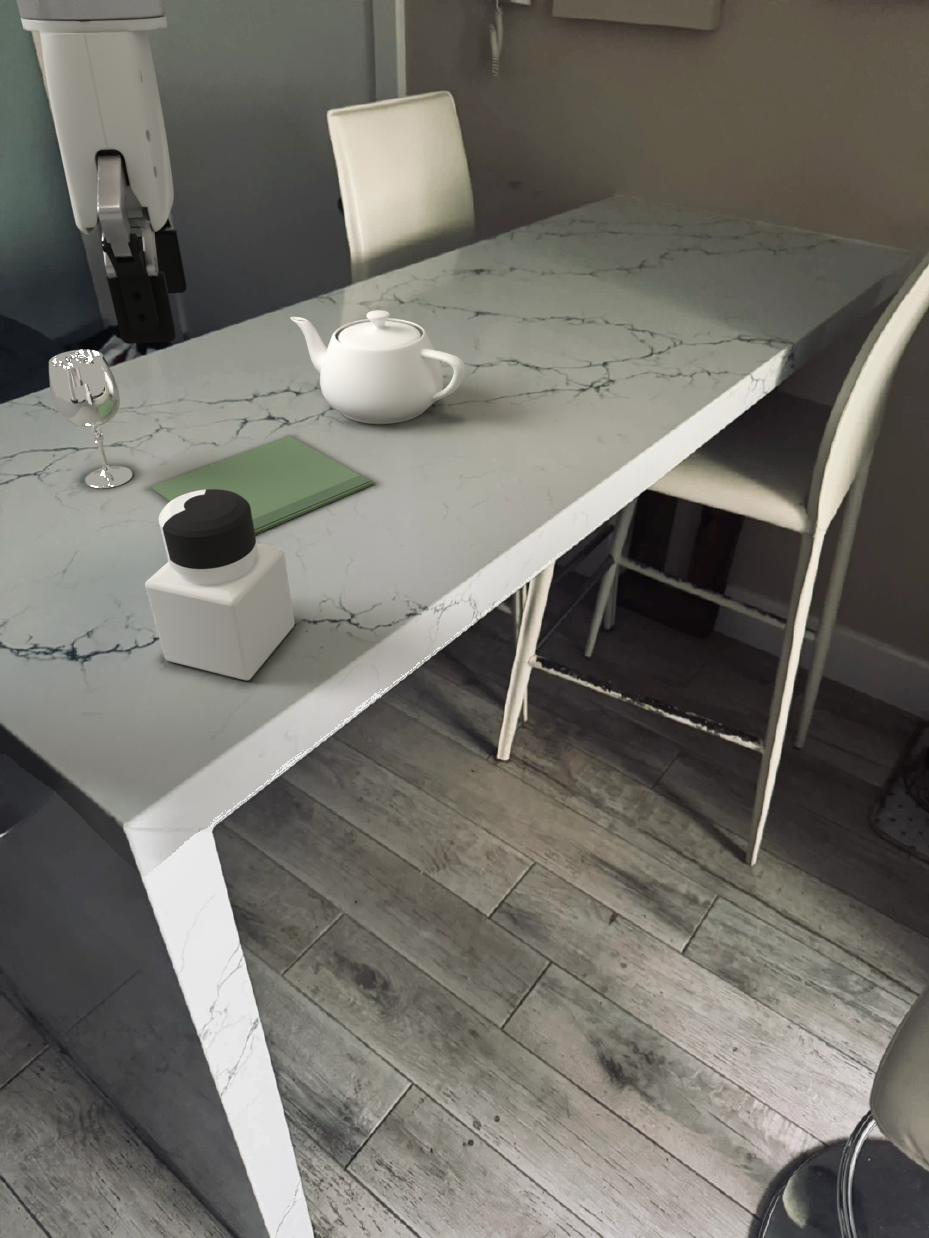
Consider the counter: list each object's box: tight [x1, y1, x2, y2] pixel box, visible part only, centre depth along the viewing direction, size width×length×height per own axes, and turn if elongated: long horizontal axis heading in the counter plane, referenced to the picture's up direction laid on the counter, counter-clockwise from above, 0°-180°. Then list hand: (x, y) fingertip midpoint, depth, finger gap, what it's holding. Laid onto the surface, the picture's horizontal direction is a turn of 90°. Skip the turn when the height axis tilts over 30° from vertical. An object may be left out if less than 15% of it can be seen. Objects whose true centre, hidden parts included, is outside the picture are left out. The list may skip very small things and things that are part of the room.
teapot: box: [289, 309, 466, 425], centre depth 96 cm, size 22×14×11 cm, turn 63°
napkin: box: [151, 435, 373, 535], centre depth 84 cm, size 16×14×1 cm
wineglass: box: [48, 349, 134, 489], centre depth 82 cm, size 6×6×12 cm
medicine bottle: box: [144, 489, 295, 681], centre depth 62 cm, size 7×7×12 cm
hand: (157, 315), depth 57 cm, fingers open, 9 cm apart
